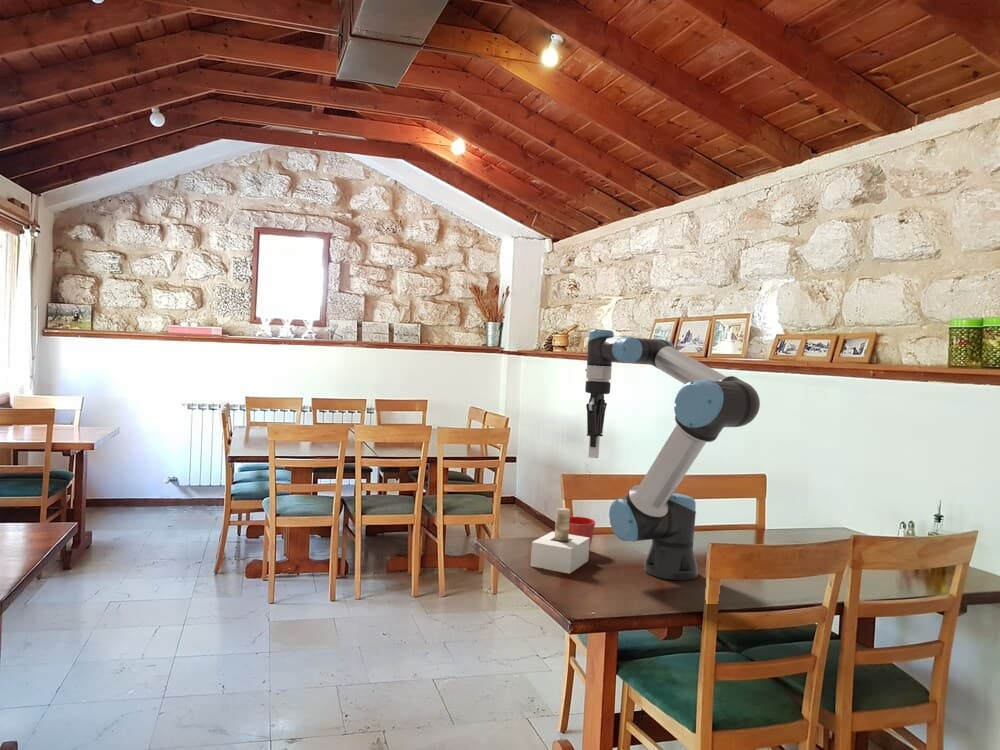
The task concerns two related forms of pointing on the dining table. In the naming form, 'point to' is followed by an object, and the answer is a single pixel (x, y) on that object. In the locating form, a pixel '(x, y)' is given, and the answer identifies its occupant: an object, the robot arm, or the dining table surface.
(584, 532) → the flower pot
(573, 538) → the socket block
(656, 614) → the dining table surface
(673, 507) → the robot arm
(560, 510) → the beech peg
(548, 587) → the dining table surface
